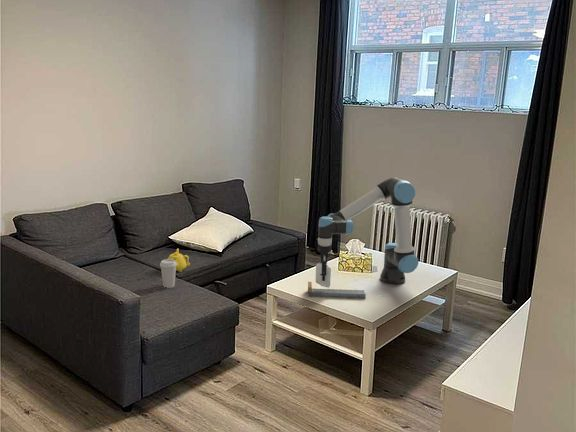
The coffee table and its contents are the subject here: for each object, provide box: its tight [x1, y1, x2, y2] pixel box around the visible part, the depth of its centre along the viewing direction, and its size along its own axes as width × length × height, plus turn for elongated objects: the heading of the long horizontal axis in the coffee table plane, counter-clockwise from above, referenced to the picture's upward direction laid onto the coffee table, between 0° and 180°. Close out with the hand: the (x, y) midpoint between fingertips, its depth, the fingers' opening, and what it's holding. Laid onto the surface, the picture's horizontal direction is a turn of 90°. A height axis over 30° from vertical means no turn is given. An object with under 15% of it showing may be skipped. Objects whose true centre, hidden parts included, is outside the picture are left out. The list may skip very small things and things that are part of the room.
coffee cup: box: [159, 258, 177, 289], centre depth 317 cm, size 10×10×15 cm
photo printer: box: [315, 262, 332, 288], centre depth 310 cm, size 10×4×12 cm, turn 34°
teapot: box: [167, 248, 191, 273], centre depth 344 cm, size 20×15×12 cm
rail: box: [307, 281, 367, 300], centre depth 311 cm, size 32×9×6 cm, turn 88°
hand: (322, 282), depth 311 cm, fingers closed on photo printer, 9 cm apart
